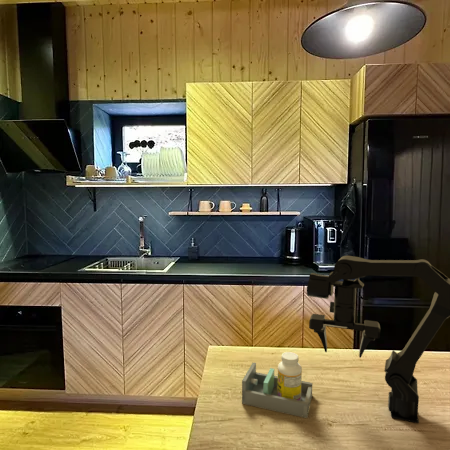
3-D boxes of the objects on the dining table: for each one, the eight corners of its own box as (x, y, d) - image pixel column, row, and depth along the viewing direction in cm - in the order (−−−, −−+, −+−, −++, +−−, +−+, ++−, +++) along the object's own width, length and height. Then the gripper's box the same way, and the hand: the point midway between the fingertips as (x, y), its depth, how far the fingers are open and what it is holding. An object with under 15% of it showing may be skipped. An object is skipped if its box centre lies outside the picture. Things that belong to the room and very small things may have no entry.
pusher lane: (312, 395, 103) (312, 373, 102) (307, 418, 93) (307, 393, 92) (252, 383, 109) (252, 362, 108) (241, 403, 99) (242, 380, 98)
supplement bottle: (277, 390, 104) (278, 349, 102) (300, 393, 102) (302, 351, 101) (276, 404, 97) (277, 359, 96) (300, 407, 96) (302, 362, 95)
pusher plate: (274, 386, 105) (274, 368, 105) (267, 402, 98) (267, 383, 97) (270, 385, 106) (270, 368, 105) (263, 401, 98) (263, 382, 97)
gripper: (379, 296, 103) (376, 347, 105) (314, 290, 110) (312, 338, 111) (381, 308, 93) (378, 365, 95) (309, 300, 99) (308, 353, 101)
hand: (342, 354), depth 101 cm, fingers open, 9 cm apart
